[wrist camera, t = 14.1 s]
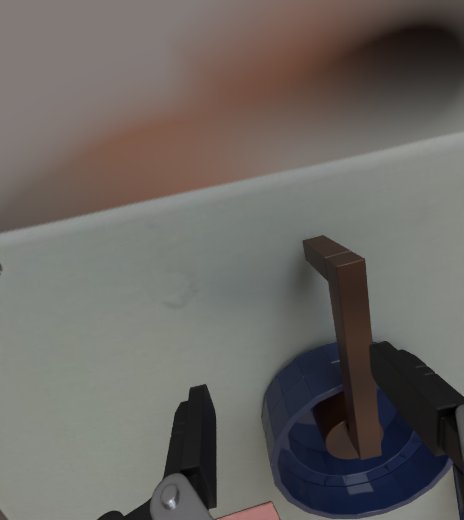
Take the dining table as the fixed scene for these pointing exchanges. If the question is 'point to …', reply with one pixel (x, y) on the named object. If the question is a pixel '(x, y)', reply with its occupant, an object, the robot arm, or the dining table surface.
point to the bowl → (332, 468)
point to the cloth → (255, 513)
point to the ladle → (348, 355)
